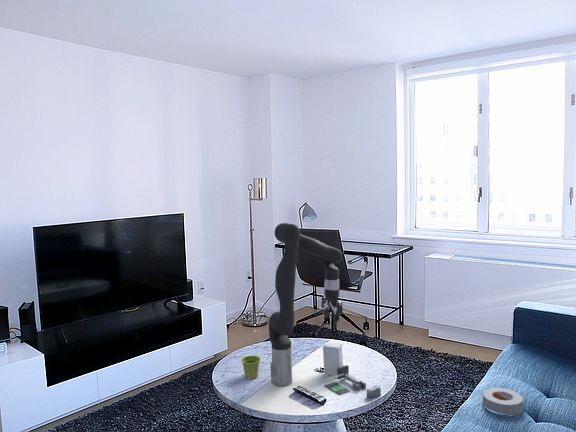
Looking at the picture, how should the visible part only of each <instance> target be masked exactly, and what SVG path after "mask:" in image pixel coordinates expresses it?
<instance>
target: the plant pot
mask: <svg viewBox="0 0 576 432" xmlns="http://www.w3.org/2000/svg"><path fill="white" fill-rule="evenodd" d="M240 361H241V364H242V366H243V371H244V372H243V373H244V377H245V378H246V379H248V378H249V380H252V379H253V380H254V379H257V378H258V377H257V376H259V367H260V362H261V357H260V356H257V355H246V356H244V357H242V358H241V360H240Z"/></svg>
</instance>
